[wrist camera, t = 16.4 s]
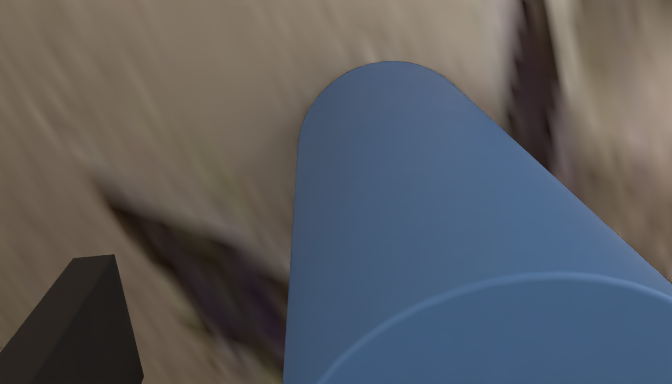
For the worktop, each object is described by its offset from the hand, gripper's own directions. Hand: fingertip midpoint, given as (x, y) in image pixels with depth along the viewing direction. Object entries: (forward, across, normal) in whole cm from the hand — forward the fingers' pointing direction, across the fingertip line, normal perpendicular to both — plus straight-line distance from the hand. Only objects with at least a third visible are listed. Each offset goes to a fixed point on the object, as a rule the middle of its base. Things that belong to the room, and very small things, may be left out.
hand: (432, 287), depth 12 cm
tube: (+1, 0, 0) cm, 1 cm away
